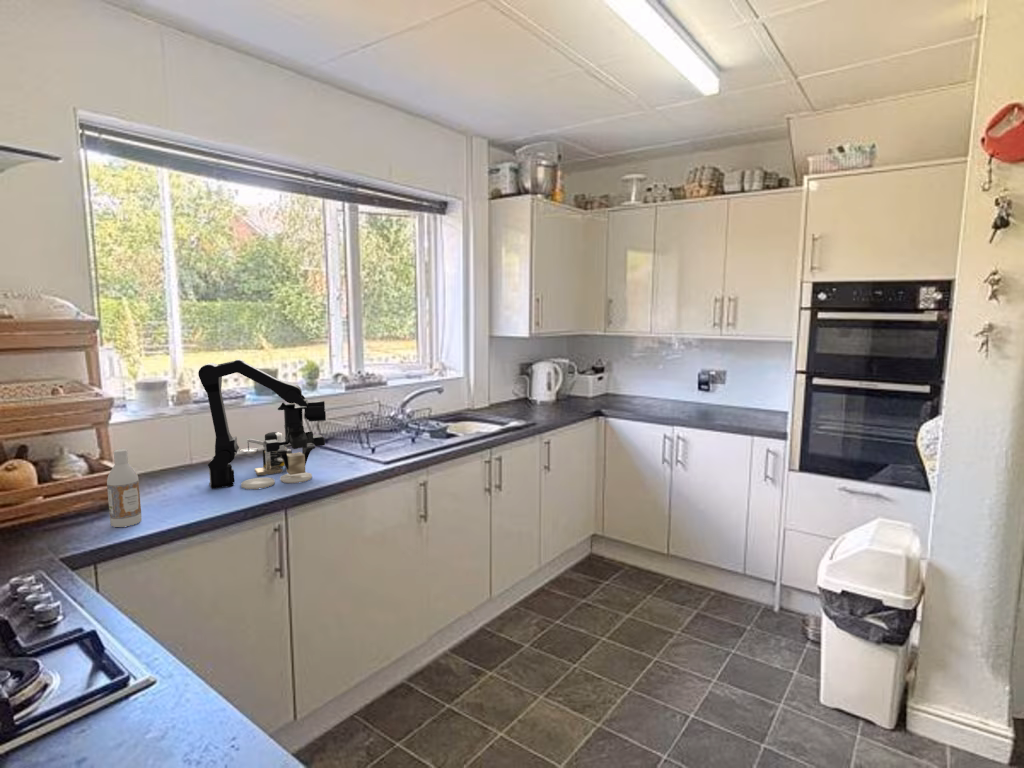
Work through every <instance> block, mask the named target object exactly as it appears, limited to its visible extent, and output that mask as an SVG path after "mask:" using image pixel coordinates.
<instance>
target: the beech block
mask: <svg viewBox="0 0 1024 768" xmlns="http://www.w3.org/2000/svg"><path fill="white" fill-rule="evenodd" d="M287 460H288V470H287V469H286V468H285V471H286V474H290V475H293V474H300V473H306V472H307V471H306V465H305V455H304V454H303V453H302V451H300V452H298V451H297V452H292V453H290V454H287Z"/></svg>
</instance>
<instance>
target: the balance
mask: <svg viewBox="0 0 1024 768" xmlns="http://www.w3.org/2000/svg"><path fill="white" fill-rule="evenodd" d="M246 443H247V448H242V449H238V453H239V454H241V455H249V454H255V453H258V452H259V448H257V447H250V443H251V444H256V445H261V446H263V443H264V441H262V440H258V439H257V440H256V439H253V438H247V442H246ZM285 450H286V451H287V454H290V453H293V451H292V449H291V448H288V447H285ZM265 458H266V467H263V466H262V467H256V468H254V472H256V473H255V474H256V475H257V476H258V477H259V475H261V476H267V475H266V474H268V475H274V473H275V474H280V473H281V472H282V473H283V468H282V467H280V466H279V465H277V466H271V459H270V452H266V451H265ZM277 461H280V462H283V460H282V457H279V458H277Z"/></svg>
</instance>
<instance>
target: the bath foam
mask: <svg viewBox="0 0 1024 768" xmlns="http://www.w3.org/2000/svg"><path fill="white" fill-rule="evenodd" d="M113 460H114V465H113V466H112V468H111V469H110V471H109V473H108V476H107V479H106V489H107V500H108V502H107V503H108V511H109V523H110V526H111V527H112V526H114V527H113V528H115V527H124V528H126V527H125V526H130V525H133V526H135V525H134V524H136V525H138V524H140V523H141V522H142V519H143V518H142V509H141V507H142V505H141V493H140V479H139V475H138V473H137V472H136V470H135V469H134V467H133V466H132V465H131V464H130V463H129V456H128V450H127V448H123V449H122V448H119V449H116V450H114V451H113ZM139 522H140V523H139ZM137 523H138V524H137ZM130 527H131V526H130Z"/></svg>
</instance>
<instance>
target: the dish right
mask: <svg viewBox="0 0 1024 768" xmlns="http://www.w3.org/2000/svg"><path fill="white" fill-rule="evenodd" d="M305 472H306V473H300V474H293V475H290V474H289V473H285V474H283V475H281V476H280V477H279V478H280V480H279V481H280V482H281V483H283V484H300V483H299V482H302V483H305V481H306V482H309V481H310V479H311V478H313V474H312V473H310V472H307V471H305ZM308 480H309V481H308ZM311 480H312V479H311Z"/></svg>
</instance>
